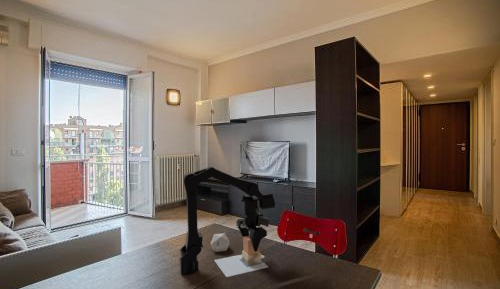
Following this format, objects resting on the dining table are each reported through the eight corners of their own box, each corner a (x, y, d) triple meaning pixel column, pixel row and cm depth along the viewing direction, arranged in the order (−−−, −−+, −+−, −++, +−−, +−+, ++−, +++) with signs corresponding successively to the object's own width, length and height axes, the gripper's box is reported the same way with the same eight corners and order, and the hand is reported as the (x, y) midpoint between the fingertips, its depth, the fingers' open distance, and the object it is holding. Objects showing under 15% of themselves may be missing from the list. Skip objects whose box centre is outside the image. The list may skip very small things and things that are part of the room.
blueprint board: (226, 279, 99) (226, 276, 99) (214, 262, 114) (214, 260, 114) (268, 269, 107) (268, 267, 107) (251, 254, 121) (251, 252, 121)
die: (206, 252, 126) (207, 240, 120) (216, 238, 133) (217, 225, 127) (222, 260, 124) (224, 248, 118) (231, 245, 131) (233, 233, 125)
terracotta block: (248, 255, 109) (247, 240, 109) (243, 250, 114) (243, 236, 114) (259, 252, 111) (258, 238, 111) (253, 248, 116) (253, 234, 116)
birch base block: (247, 265, 108) (247, 255, 108) (242, 259, 114) (241, 250, 114) (260, 262, 111) (260, 253, 111) (254, 256, 116) (254, 247, 116)
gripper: (278, 213, 107) (278, 252, 107) (257, 204, 124) (258, 237, 124) (253, 217, 103) (253, 257, 103) (235, 207, 120) (236, 241, 120)
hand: (251, 247), depth 112 cm, fingers open, 9 cm apart
